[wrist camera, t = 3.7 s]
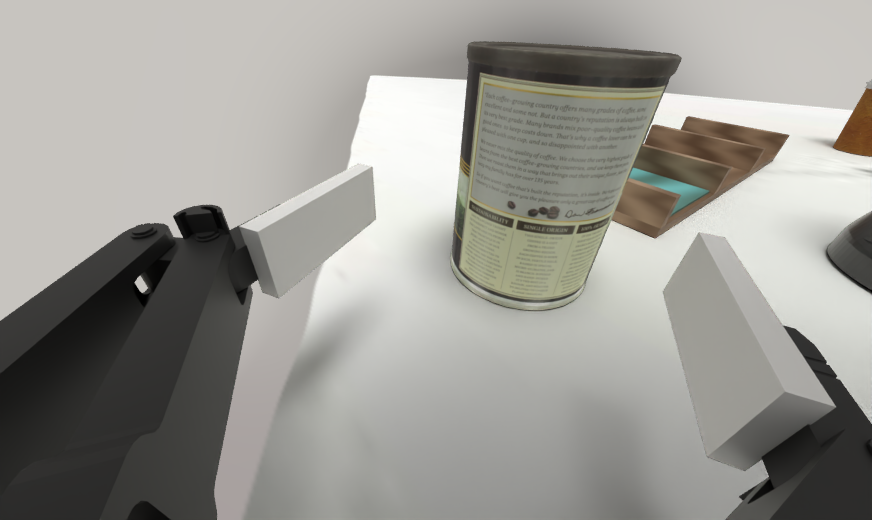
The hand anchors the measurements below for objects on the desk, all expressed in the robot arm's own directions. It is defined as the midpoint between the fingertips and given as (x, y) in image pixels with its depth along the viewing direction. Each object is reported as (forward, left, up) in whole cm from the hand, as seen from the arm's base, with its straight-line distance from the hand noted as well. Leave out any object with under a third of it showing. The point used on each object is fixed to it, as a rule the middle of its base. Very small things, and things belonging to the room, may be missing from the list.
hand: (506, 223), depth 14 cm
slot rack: (+7, -43, -8) cm, 44 cm away
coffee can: (+4, -8, -8) cm, 12 cm away
